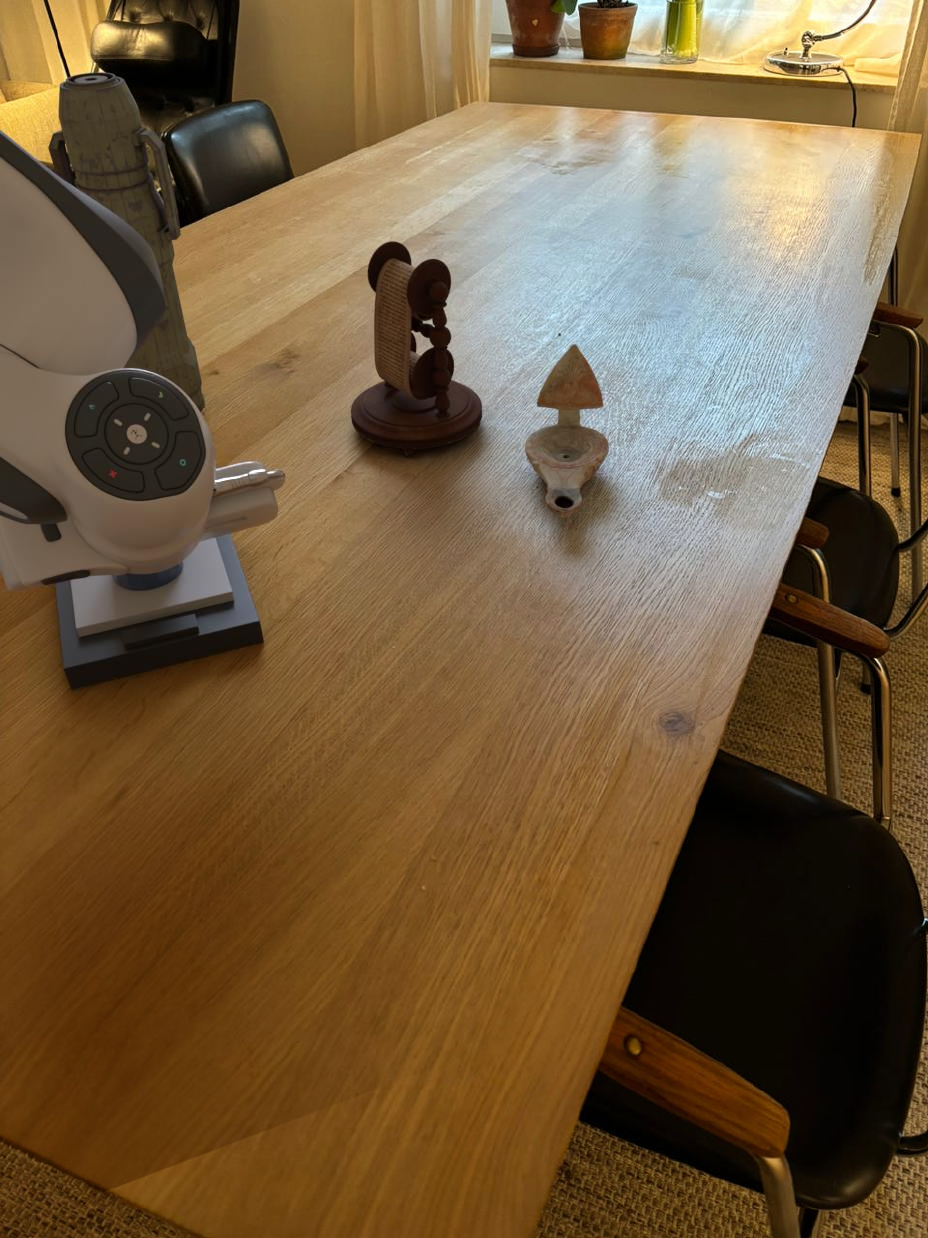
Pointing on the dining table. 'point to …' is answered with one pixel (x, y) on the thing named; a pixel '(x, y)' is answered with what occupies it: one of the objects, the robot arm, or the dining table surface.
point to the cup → (148, 579)
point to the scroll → (412, 359)
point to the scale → (156, 618)
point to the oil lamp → (567, 433)
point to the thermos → (128, 201)
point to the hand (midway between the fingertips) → (142, 546)
